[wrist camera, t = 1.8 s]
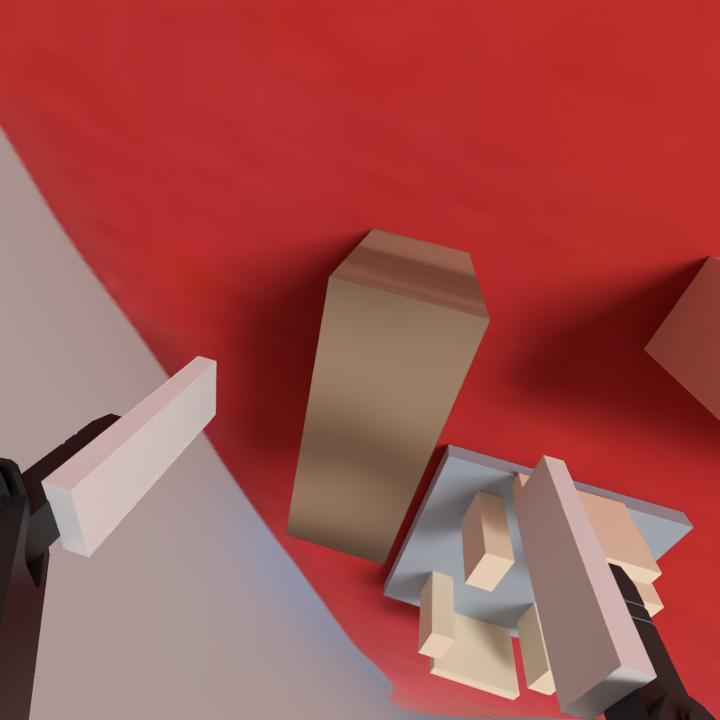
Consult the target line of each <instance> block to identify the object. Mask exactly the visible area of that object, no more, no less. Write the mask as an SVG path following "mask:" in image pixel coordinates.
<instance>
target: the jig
mask: <svg viewBox="0 0 720 720" xmlns="http://www.w3.org/2000/svg"><path fill="white" fill-rule="evenodd" d="M533 471H534V469H532V468H529V467H525V466H522V465H518V464H515V463H511V462H508V461H505V460H501V459H498V458H494V457H491V456H487V455H484V454H480V453H477V452H473V451H470V450H467V449H463V448H460V447H456V446H453V445H449V444H448V446H447V448H446V451H445V453H444V455H443V457H442V459H441V462H440V464H439V466H438V468H437V470H436V473H435V475H434V477H433V479H432V481H431V483H430V486H429V488H428V490H427V492H426V494H425V497H424V499H423V501H422V503H421V505H420V507H419V510H418V512H417V514H416V516H415V518H414V521H413V523H412V525H411V527H410V529H409V531H408V534H407V536H406V538H405V540H404V542H403V545H402V547H401V549H400V551H399V553H398V555H397V558H396V560H395V562H394V564H393V566H392V569H391V571H390V573H389V575H388V577H387V580H386V582H385V587H384V596H388V597H391V598H394V599H397V600H400V601H403V602H407V603H410V604H413V605H416V606H419V607H420V625H419V650H418V653H421V654H424V655H427V656H430V673H432V674H435V675H438V676H441V677H444V678H447V679H450V680H453V681H457V682H460V683H463V684H466V685H469V686H472V687H475V688H478V689H481V690H484V691H487V692H490V693H493V694H496V695H499V696H502V697H505V698H508V699H511V700H514V699H515V698H516V697H518V696H519V688H518V681H517V675H516V668H515V662H514V655H513V648H512V642H511V636H514V637H517V638H519V640H520V646H521V652H522V658H523V664H524V670H525V676H526V682H527V688H529V689H532V690H535V691H538V692H541V693H544V694H547V695H551V694H552V693H554V692H555V691H556V689H555V684H554V680H553V675H552V671H551V667H550V662H549V658H548V653H547V649H546V645H545V640H544V636H543V632H542V627H541V623H540V618H539V614H538V610H537V605H536V601H535V597H534V592H533V588H532V583H531V579H530V575H529V570H528V566H527V561H526V557H525V553H524V548H523V544H522V540H521V535H520V531H519V526H518V522H517V518H516V513H515V509H514V504H513V502H514V500H515V499H516V497H517V496H518V494H519V493H520V491H521V490H522V488H523V486H524V485H525V483H526V482H527V480H528V479H529V477H530V476H531V474H532V472H533ZM572 481H573V480H572ZM573 483H574V486H575V488H576V490H577V493H578V495H579V497H580V500H581V502H582V504H583V507H584V509H585V511H586V514H587V516H588V518H589V521H590V523H591V525H592V527H593V530H594V532H595V534H596V537H597V539H598V541H599V544H600V546H601V548H602V551H603V553H604V555H605V558H606V560H607V562H608V563H611V564H615V565H618V566H621V567H622V569H623V570H624V571H625V573H626V574H627V575H628V576H629V578H630V579H631V580H632V581H633V583H634V584H635V585H636V587H637V589H638V592H639V594H640V596H641V598H642V600H643V602H644V604H645V609H647V611H648V613H649V615H650V617H652V616H653V615H654V614H656V613H657V612H658V611H660V610H661V609H662V608H663V607H664V606H663V604H662V602H661V600H660V598H659V596H658V594H657V592H656V590H655V588H654V587H653V585H652V582H653V581H654V580H655V579H656V578H657V577H659V576H660V575H661V574H662V573H661V571H660V569H659V567H658V566H657V564H656V562H655V561H656V560H657V559H659V558H660V557H661V556H662V555H663V554H664V553H665V552H666V551H667V550H669V549H670V548H671V547H672V546H673V545H674V544H675V543H676V542H678V541H679V540H680V539H681V538H682V537H683V536H684V535H685V534H687V533H688V532H689V531H690V530H691V529H692V528H693V526H692V524H691V523H690V522H689V520H688V519H687V517H686V516H685V514H684V513H683V512H680V511H677V510H674V509H670V508H667V507H663V506H660V505H656V504H653V503H649V502H646V501H642V500H639V499H636V498H632V497H629V496H625V495H622V494H618V493H615V492H611V491H608V490H605V489H601V488H598V487H594V486H591V485H587V484H584V483H580V482H577V481H573Z"/></svg>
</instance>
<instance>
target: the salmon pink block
mask: <svg viewBox="0 0 720 720" xmlns="http://www.w3.org/2000/svg"><path fill="white" fill-rule="evenodd" d="M644 350H645V351H646V352H647V353H648V354H649V355H650V356H651V357H652V358H653V359H654V360H656V361H657V362H658V363H659V364H660V365H661V366H662V367H663V368H664V369H665V370H666V371H667V372H668V373H669V374H670V375H672V376H673V377H674V378H675V379H676V380H677V381H678V382H679V383H680V384H681V385H682V386H683V387H684V388H685V389H686V390H688V391H689V392H690V393H691V394H692V395H693V396H694V397H695V398H696V399H697V400H698V401H699V402H700V403H701V404H702V405H704V406H705V407H706V408H707V409H708V410H709V411H710V412H711V413H712V414H713V415H714V416H715V417H716V418H717V419H718V420H720V258H717V257H713V256H710V257H709V258H708V259H707V261H706V262H705V264H704V265H703V266H702V268H701V269H700V271H699V272H698V274H697V275H696V276H695V278H694V279H693V281H692V282H691V283H690V285H689V286H688V288H687V289H686V290H685V292H684V293H683V295H682V296H681V298H680V299H679V300H678V302H677V303H676V305H675V306H674V307H673V309H672V310H671V312H670V313H669V314H668V316H667V317H666V319H665V320H664V321H663V323H662V324H661V326H660V327H659V329H658V330H657V331H656V333H655V334H654V336H653V337H652V338H651V340H650V341H649V343H648V344H647V345H646V347H645V348H644Z"/></svg>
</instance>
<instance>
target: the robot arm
mask: <svg viewBox="0 0 720 720" xmlns="http://www.w3.org/2000/svg"><path fill="white" fill-rule="evenodd" d="M215 415H216V361H214V360H211V359H207V358H204V357H200V356H198V357H196V358H195V359H194V360H193V361H191V362H190V363H189V364H188V365H186V366H185V367H184V368H183V369H181V370H180V371H179V372H178V373H176V374H175V375H174V376H173V377H171V378H170V379H169V380H168V381H166V382H165V383H164V384H163V385H161V386H160V387H159V388H158V389H157V390H155V391H154V392H153V393H151V394H150V395H149V396H148V397H146V398H145V399H144V400H143V401H141V402H140V403H139V404H138V405H137V406H135V407H134V408H133V409H131V410H130V411H129V412H128V413H126V414H125V415H124V416H123V417H121V416H117V415H114V414H108V415H106V416H104V417H102V418H99V419H97V420H94V421H92V422H91V423H89V424H88V425H87V426H85V427H84V428H83V429H81V430H80V431H79V432H78V433H77V434H76V435H73V436H72V437H70V438H69V439H68V440H66V441H65V443H64V444H62V445H60V446H58V447H57V448H56V449H54V450H53V451H52V452H50V453H49V454H48V455H46V456H45V457H44V458H42V459H41V460H40V461H38V462H37V463H36V464H34V465H33V466H31V467H30V468H29V469H27V470H26V471H25V472H23V473H22V474H21V472H20V469H19V467H18V465H17V464H16V463H15V462H14V461H12V460H10V459H5V458H0V720H29V713H30V706H31V705H30V704H31V698H32V690H33V682H34V674H35V666H36V658H37V650H38V642H39V634H40V626H41V619H42V610H43V603H44V595H45V587H46V579H47V571H48V562H49V556H50V554H49V548H48V547H49V546H50V545H51V544H52V543H53V542H54V541H55V540H56V539H57V538H58V537H60V539H61V542H62V545H63V548H64V549H65V550H69V551H72V552H75V553H78V554H81V555H84V556H87V557H90V556H91V555H92V553H93V552H94V551H95V550H96V549H97V548H98V547H99V546H100V544H101V543H102V542H103V541H104V540H105V539H106V538H107V536H108V535H109V534H110V533H111V532H112V531H113V530H114V529H115V527H116V526H117V525H118V524H119V523H120V522H121V521H122V520H123V519H124V517H125V516H126V515H127V514H128V513H129V512H130V511H131V509H132V508H133V507H134V506H135V505H136V504H137V503H138V502H139V500H140V499H141V498H142V497H143V496H144V495H145V493H146V492H147V491H148V490H149V489H150V488H151V487H152V486H153V484H154V483H155V482H156V481H157V480H158V479H159V478H160V476H162V474H163V473H164V472H165V471H166V470H167V469H168V467H170V465H171V464H172V463H173V462H174V461H175V459H177V457H178V456H179V455H180V454H181V453H182V452H183V451H184V449H185V448H186V447H187V446H188V445H189V444H190V443H191V442H192V441H193V439H194V438H195V437H196V436H197V435H198V434H199V433H200V432H201V430H202V429H203V428H204V427H205V426H206V425H207V424H208V423H209V421H210V420H211V419H212V418H213V417H214V416H215ZM513 504H514V509H515V513H516V518H517V522H518V526H519V531H520V535H521V540H522V544H523V548H524V553H525V557H526V561H527V566H528V570H529V575H530V579H531V583H532V588H533V592H534V597H535V601H536V605H537V610H538V614H539V618H540V623H541V627H542V632H543V636H544V640H545V645H546V649H547V653H548V658H549V662H550V667H551V671H552V675H553V680H554V684H555V689H556V693H557V697H558V702H559V706H560V710H561V712H563V713H567V714H570V715H573V716H576V717H579V718H582V719H585V720H593V719H595V718H596V717H598V716H599V715H601V714H602V713H604V715H605V718H606V720H716V719H715V718H714V717H713V716H712V715H711V714H710V713H709V712H708V711H707V710H706V708H705V707H703V706H702V705H701V704H700V703H698V702H697V701H696V700H694V699H693V698H692V697H690V696H688V694H687V692H686V690H685V688H684V686H683V684H682V682H681V680H680V678H679V676H678V674H677V672H676V670H675V667H674V665H673V663H672V661H671V659H670V657H669V655H668V653H667V651H666V648H665V646H664V644H663V642H662V640H661V638H660V636H659V634H658V632H657V629H656V627H655V626H653V624H652V622H653V621H652V619H651V617H650V615H649V613H648V611H647V609H645V604H644V602H643V600H642V598H641V596H640V594H639V592H638V589H637V587H636V585H635V584H634V583H633V581H632V580H631V579H630V578H629V576H628V575H627V574H626V573H625V571H624V570H623V569H622V567H621V566H618V565H615V564H611V563H608V562H607V560H606V558H605V555H604V553H603V551H602V548H601V546H600V544H599V541H598V539H597V537H596V534H595V532H594V530H593V527H592V525H591V523H590V521H589V518H588V516H587V514H586V511H585V509H584V507H583V504H582V502H581V500H580V497H579V495H578V493H577V490H576V488H575V486H574V483H573V481H572V479H571V477H570V474H569V472H568V470H567V467H566V465H565V463H564V461H562V460H559V459H555V458H552V457H548V456H545V455H543V457H542V458H541V460H540V461H539V463H538V465H537V466H536V468H535V469H534V471H533V472H532V474H531V476H530V477H529V479H528V480H527V482H526V483H525V485H524V486H523V488H522V490H521V491H520V493H519V494H518V496H517V497H516V499H515V500H514V502H513Z"/></svg>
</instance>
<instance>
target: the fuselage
mask: <svg viewBox="0 0 720 720" xmlns="http://www.w3.org/2000/svg"><path fill="white" fill-rule="evenodd" d="M489 321H490V318H489V314H488V311H487V308H486V305H485V302H484V299H483V296H482V292H481V289H480V286H479V283H478V280H477V277H476V274H475V271H474V267H473V264H472V261H471V258H470V255H469V253H467V252H464V251H460V250H456V249H452V248H448V247H444V246H440V245H436V244H433V243H429V242H425V241H421V240H417V239H413V238H409V237H405V236H402V235H398V234H394V233H390V232H386V231H382V230H378V229H375V228H373V229H372V230H371V232H370V233H369V234H368V235H367V236H366V237H365V238H364V239H363V240H362V241H361V242H360V244H359V245H358V246H357V247H356V248H355V249H354V250H353V251H352V252H351V253H350V254H349V256H348V257H347V258H346V259H345V260H344V261H343V262H342V263H341V264H340V265H339V266H338V268H337V269H336V270H335V271H334V272H333V273H332V274H331V275H330V276H329V281H328V287H327V293H326V299H325V305H324V311H323V317H322V323H321V329H320V335H319V340H318V346H317V352H316V358H315V364H314V370H313V376H312V382H311V388H310V394H309V400H308V406H307V412H306V417H305V423H304V429H303V435H302V441H301V447H300V453H299V459H298V465H297V471H296V477H295V483H294V488H293V494H292V500H291V506H290V512H289V518H288V524H287V530H286V535H289V536H293V537H296V538H299V539H302V540H305V541H309V542H312V543H315V544H318V545H321V546H325V547H328V548H331V549H334V550H337V551H340V552H344V553H347V554H350V555H353V556H356V557H360V558H363V559H366V560H369V561H372V562H376V563H379V564H382V565H384V563H385V561H386V559H387V556H388V554H389V552H390V549H391V547H392V545H393V542H394V540H395V538H396V536H397V533H398V531H399V529H400V526H401V524H402V522H403V519H404V517H405V515H406V512H407V510H408V508H409V506H410V503H411V501H412V499H413V496H414V494H415V492H416V489H417V487H418V485H419V482H420V480H421V478H422V476H423V473H424V471H425V469H426V466H427V464H428V462H429V459H430V457H431V455H432V452H433V450H434V448H435V446H436V443H437V441H438V439H439V436H440V434H441V432H442V429H443V427H444V425H445V423H446V420H447V418H448V416H449V413H450V411H451V409H452V406H453V404H454V402H455V399H456V397H457V395H458V393H459V390H460V388H461V386H462V383H463V381H464V379H465V376H466V374H467V372H468V369H469V367H470V365H471V363H472V360H473V358H474V356H475V353H476V351H477V349H478V346H479V344H480V342H481V339H482V337H483V335H484V333H485V330H486V328H487V326H488V323H489Z"/></svg>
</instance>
